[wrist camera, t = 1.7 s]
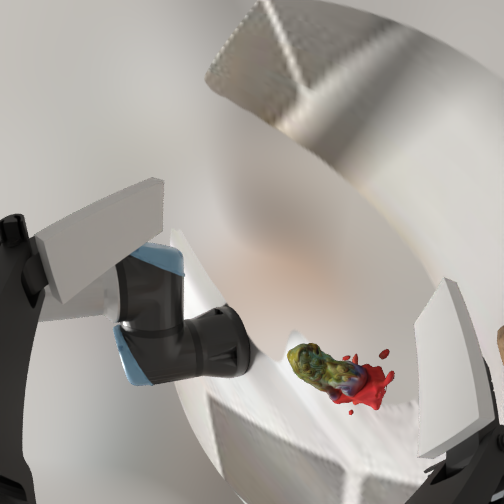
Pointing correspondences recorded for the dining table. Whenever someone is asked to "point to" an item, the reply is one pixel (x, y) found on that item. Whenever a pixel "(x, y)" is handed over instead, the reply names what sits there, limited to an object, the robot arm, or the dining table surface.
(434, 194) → the dining table surface
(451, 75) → the dining table surface
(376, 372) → the figurine
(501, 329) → the candle holder
